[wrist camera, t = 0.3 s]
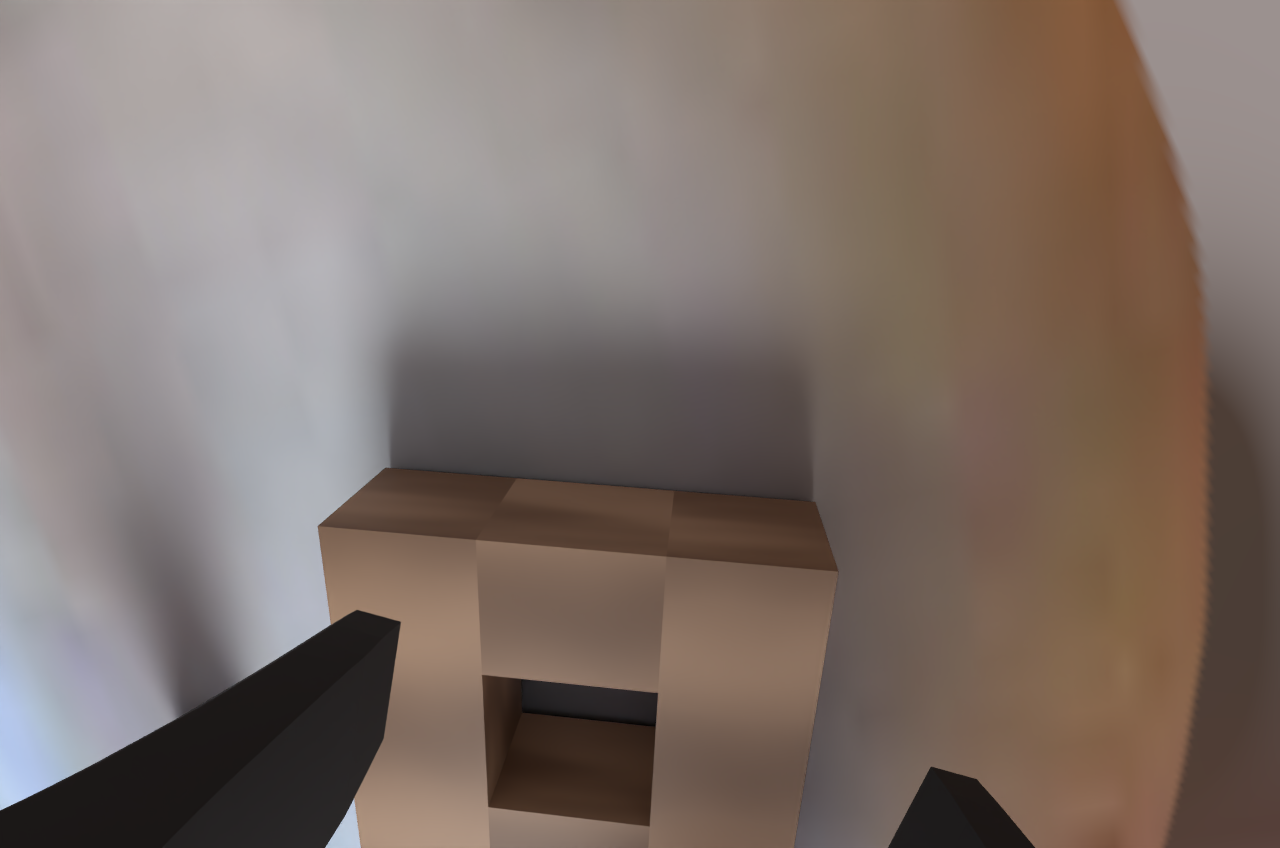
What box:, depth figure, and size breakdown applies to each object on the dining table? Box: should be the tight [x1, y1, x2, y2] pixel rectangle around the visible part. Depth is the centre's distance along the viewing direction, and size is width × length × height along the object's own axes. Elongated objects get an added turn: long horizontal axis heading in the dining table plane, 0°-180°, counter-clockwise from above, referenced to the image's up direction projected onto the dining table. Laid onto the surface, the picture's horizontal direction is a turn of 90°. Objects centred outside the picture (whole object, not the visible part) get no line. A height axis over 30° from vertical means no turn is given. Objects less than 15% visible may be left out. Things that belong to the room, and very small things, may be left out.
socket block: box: [318, 468, 838, 848], centre depth 19 cm, size 12×12×4 cm
